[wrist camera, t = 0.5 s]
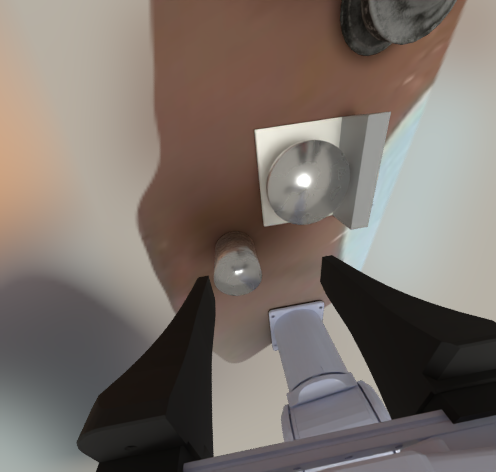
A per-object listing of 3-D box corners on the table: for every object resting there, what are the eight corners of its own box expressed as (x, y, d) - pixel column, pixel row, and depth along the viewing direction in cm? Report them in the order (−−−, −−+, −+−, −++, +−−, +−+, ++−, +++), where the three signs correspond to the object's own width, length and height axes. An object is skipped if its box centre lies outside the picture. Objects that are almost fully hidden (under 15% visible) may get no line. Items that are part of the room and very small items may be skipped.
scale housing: (346, 210, 21) (370, 226, 18) (263, 224, 21) (271, 243, 18) (359, 114, 17) (395, 111, 14) (254, 129, 17) (262, 130, 13)
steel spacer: (256, 260, 23) (263, 291, 19) (219, 267, 23) (219, 299, 19) (251, 228, 21) (259, 254, 17) (211, 235, 21) (208, 263, 17)
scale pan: (339, 214, 18) (344, 217, 18) (268, 226, 18) (270, 230, 17) (349, 133, 15) (355, 133, 14) (262, 146, 15) (264, 147, 14)
